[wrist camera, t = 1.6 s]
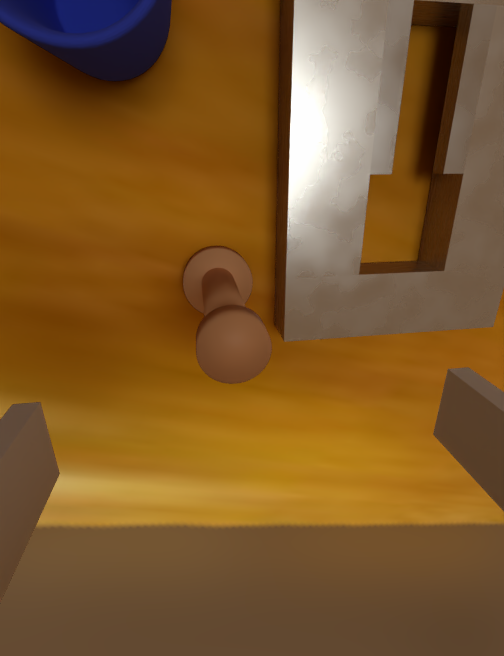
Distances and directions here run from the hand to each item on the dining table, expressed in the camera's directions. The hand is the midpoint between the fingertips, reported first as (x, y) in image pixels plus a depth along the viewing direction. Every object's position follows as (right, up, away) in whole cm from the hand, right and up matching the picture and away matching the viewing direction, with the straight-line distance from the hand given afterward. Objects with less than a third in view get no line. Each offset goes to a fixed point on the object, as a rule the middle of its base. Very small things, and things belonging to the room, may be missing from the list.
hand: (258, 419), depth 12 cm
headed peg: (-3, +7, +16) cm, 17 cm away
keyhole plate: (+10, +16, +14) cm, 23 cm away
